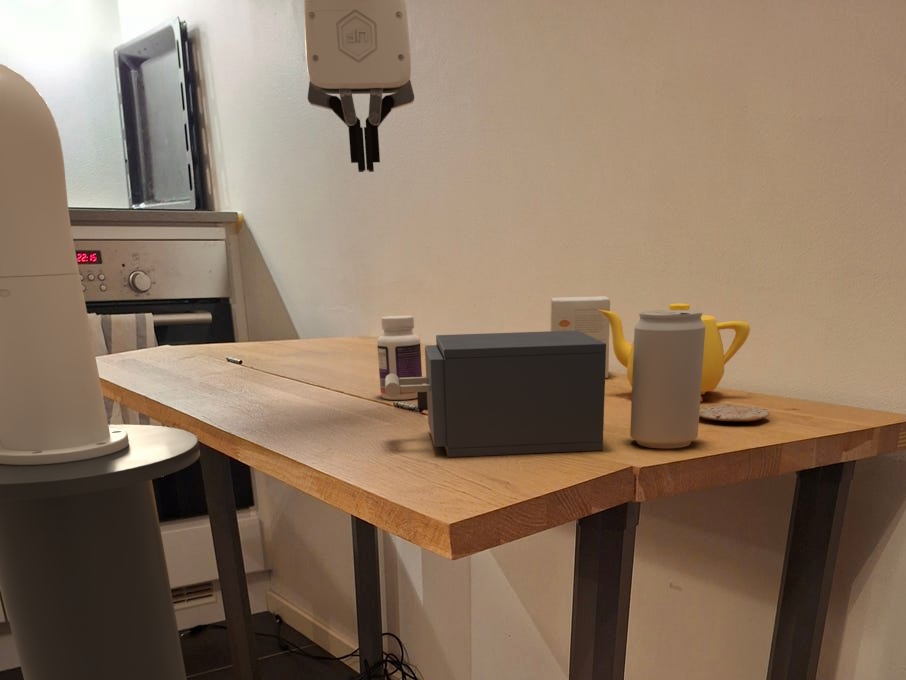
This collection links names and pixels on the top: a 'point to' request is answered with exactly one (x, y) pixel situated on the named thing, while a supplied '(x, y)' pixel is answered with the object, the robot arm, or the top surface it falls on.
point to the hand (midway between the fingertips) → (366, 170)
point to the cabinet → (523, 392)
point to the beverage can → (667, 378)
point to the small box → (582, 318)
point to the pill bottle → (399, 353)
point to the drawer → (434, 389)
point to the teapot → (712, 346)
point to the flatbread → (733, 412)
